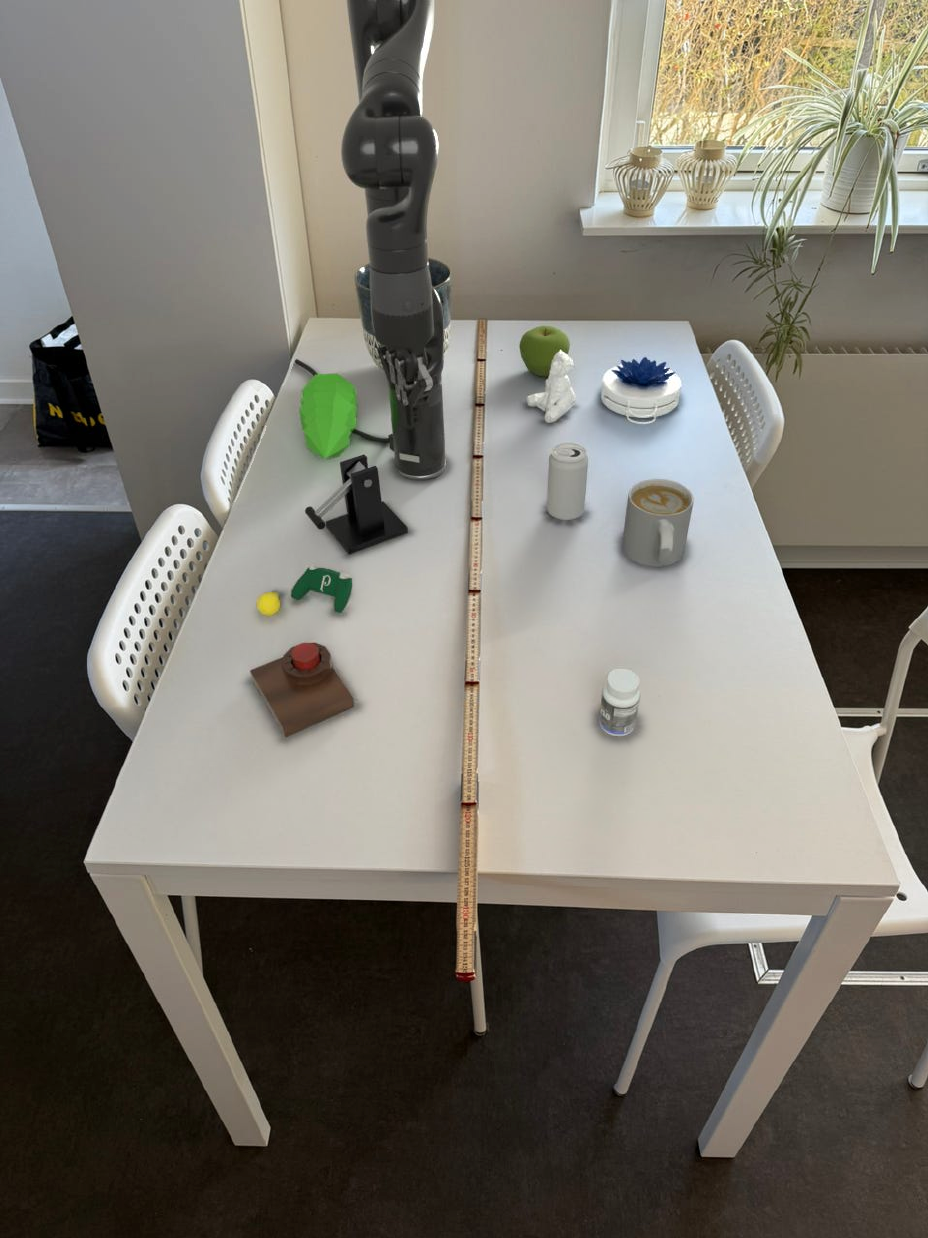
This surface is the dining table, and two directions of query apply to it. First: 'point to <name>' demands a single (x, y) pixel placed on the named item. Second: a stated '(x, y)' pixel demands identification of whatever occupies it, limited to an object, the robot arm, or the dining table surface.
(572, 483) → the beverage can
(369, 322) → the planter
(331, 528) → the bracket
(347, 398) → the green oblong ovoid
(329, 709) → the button block
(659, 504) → the coffee mug
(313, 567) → the gaming controller
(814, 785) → the dining table surface
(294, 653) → the button
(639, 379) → the lotus flower trinket box
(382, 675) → the dining table surface
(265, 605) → the light bulb
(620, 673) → the pill bottle
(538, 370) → the apple
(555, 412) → the sitting furry creature
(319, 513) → the lever
